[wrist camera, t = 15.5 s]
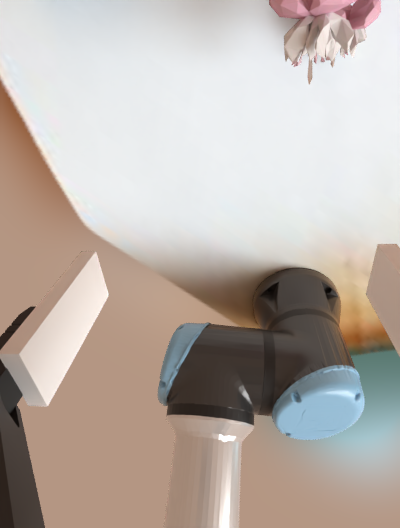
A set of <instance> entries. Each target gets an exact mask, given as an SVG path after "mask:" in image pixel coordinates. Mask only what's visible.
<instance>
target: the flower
mask: <svg viewBox="0 0 400 528" xmlns="http://www.w3.org/2000/svg"><path fill="white" fill-rule="evenodd" d="M355 1H356V2H355ZM353 2H355V3H354V4H353V6H351V5H350V4H351V3H353ZM269 5H270V6H271V7H272V8H273V9H274V11H275V12H276V13H277V14H278V15H279V17H284V18H297V19H300V20H299V21H298V22H297V23H296V24H295V25H294V26H293V27H292V28H291V29H290V30H289V31H288V32H287V33H286V34H285V35H284V51H285V60H286V61H287V59H288V58H289V59H290V60H291V61H292V65H293V64H295V65H294V67H295V66H298V65H299V64H300V63H301V60H302V56H304V55H305V54H307V53H308V56H309V67H308V81H309V84H310V82H311V80H312V59H313V58H314V62H315V63H316V61H317V54H319V55H320V56H321V58H322V59H321V62H325V61H324V59H325V57H326V60H331V66H332V67H333V66H334V61H335V56H336V54H337V53H338V51H339V49H340V55H341V56H342V57H344V58H345V55H344V51H345V54H347V55H348V50H349V47H350V53H351V56H352V57H353V58H354V54H355V50H356V45H357V44H358V43H360V42H362V41H365V39H366V37H367V35H366V31H365V28H366V27H367V26H369V25H370V24H371V23H372V22H373V21H374V20H376V19H377V17H378V16H379V14H380V12H381V0H269ZM301 52H302V54H301ZM300 54H301V57H300V60H299V63H298V62H297V61H298V58H299V56H300Z"/></svg>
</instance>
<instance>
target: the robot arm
mask: <svg viewBox="0 0 400 528" xmlns="http://www.w3.org/2000/svg"><path fill="white" fill-rule="evenodd" d="M366 295H367V297H368V299H369V301H370V303H371V304H372V306H373V308H374V310H375V312H376V314H377V315H378V317H379V319H380V321H381V323H382V325H383V327H384V328H385V330H386V332H387V334H388V336H389V338H390V339H391V341H392V343H393V345H394V347H395V349H396V351H397V352H398V354H399V356H400V248H399V247H398V245H397V244H378V245H377V250H376V254H375V258H374V262H373V266H372V271H371V275H370V279H369V283H368V287H367V292H366ZM108 296H109V294H108V290H107V287H106V283H105V280H104V277H103V273H102V270H101V266H100V263H99V260H98V256H97V253H96V251H82V252H80V254H79V255H78V256H77V257H76V259H75V260H74V261H73V262H72V263H71V265H70V266H69V267H68V268H67V270H66V271H65V272H64V273H63V275H62V276H61V277H60V278H59V279H58V281H57V282H56V283H55V284H54V285H53V287H52V288H51V289H50V290H49V291H48V293H47V294H46V295H45V296H44V298H43V299H42V300H41V301H40V303H39V304H38V305H37V306H36V307H30V308H28V309H27V310H25V311H24V312H22V313H21V314H20V315H19V316H18V317H17V318H16V319H15V321H13V323H12V325H11V326H9V327H8V328H7V330H6V331H5V333H3V334H2V335H1V337H0V528H45V526H44V521H43V516H42V512H41V507H40V502H39V497H38V493H37V488H36V483H35V479H34V474H33V470H32V465H31V460H30V455H29V451H28V446H27V441H26V437H25V432H24V427H23V423H22V418H21V413H20V410H19V408H18V406H17V403H18V402H19V400H20V398H21V397H22V396H23V397H24V399H25V401H26V402H27V404H28V406H48V405H49V403H50V401H51V399H52V398H53V396H54V394H55V392H56V390H57V389H58V387H59V385H60V383H61V381H62V380H63V378H64V376H65V374H66V372H67V370H68V369H69V367H70V365H71V363H72V361H73V360H74V358H75V356H76V354H77V352H78V350H79V348H80V347H81V345H82V343H83V341H84V339H85V338H86V336H87V334H88V332H89V331H90V329H91V327H92V325H93V323H94V321H95V320H96V318H97V316H98V314H99V312H100V311H101V309H102V307H103V305H104V303H105V301H106V300H107V298H108ZM253 310H254V316H255V319H256V321H257V323H258V325H259V327H260V328H261V329H257V328H245V327H234V326H224V325H215V324H211V323H205V324H196V323H186V324H183V325H181V326H179V327H178V328H177V329H176V331H175V332H174V334H173V336H172V338H171V341H170V343H169V345H168V349H167V351H166V354H165V358H164V361H163V365H162V369H161V374H160V379H161V380H160V383H159V387H158V400H159V402H160V403H161V404H163V405H164V406H167V405H168V409H167V416H166V420H167V421H168V422H169V424H170V426H171V427H172V428H173V430H174V433H175V443H174V451H173V459H172V466H171V467H172V468H171V475H170V482H169V490H168V498H167V506H166V514H165V522H164V528H239V505H240V476H241V475H240V474H241V445H242V442H243V440H244V438H245V437H246V436H247V435H248V434H249V433H250V432H251V431H252V430H253V429H254V414H256V415H267V416H272V419H273V422H274V423H275V426H276V427H277V429H278V430H279V431H280V432H281V433H285V434H286V435H287V436H289V437H291V438H295V439H301V440H314V439H322V438H326V437H330V436H333V435H336V434H338V433H340V432H342V431H344V430H345V429H348V428H349V427H350V426H352V425H353V424H354V423H355V422H356V421H357V420H358V419H359V417H360V416H361V414H362V412H363V409H364V403H365V400H364V394H363V391H362V387H361V384H360V377H359V373H358V372H357V371H356V369H355V366H354V364H353V362H352V359H351V356H350V353H349V351H348V348H347V346H346V343H345V340H344V338H343V335H342V333H341V330H340V328H339V322H340V312H341V301H340V297H339V294H338V292H337V289H336V287H335V285H334V284H333V283H332V281H331V280H330V279H329V278H328V277H326V276H325V275H323V274H321V273H319V272H317V271H314V270H310V269H304V268H293V269H287V270H283V271H280V272H277V273H275V274H273V275H271V276H269V277H268V278H267V279H265V280H264V281H263V282H262V283H261V284H260V285H259V287H258V288H257V290H256V292H255V294H254V298H253Z"/></svg>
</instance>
